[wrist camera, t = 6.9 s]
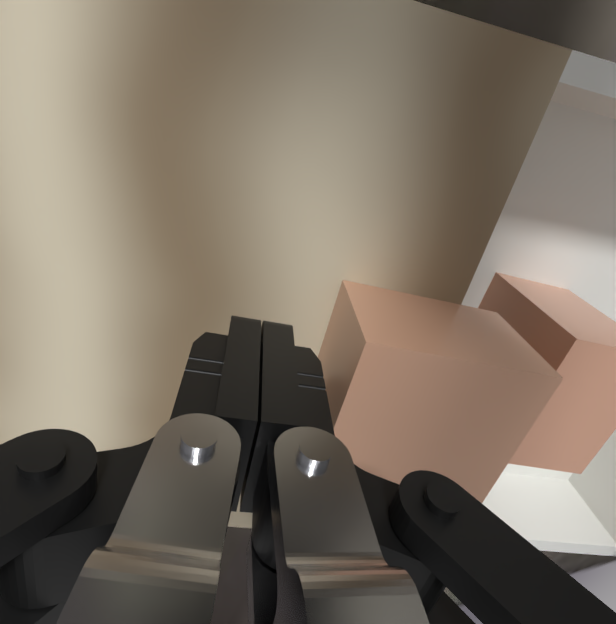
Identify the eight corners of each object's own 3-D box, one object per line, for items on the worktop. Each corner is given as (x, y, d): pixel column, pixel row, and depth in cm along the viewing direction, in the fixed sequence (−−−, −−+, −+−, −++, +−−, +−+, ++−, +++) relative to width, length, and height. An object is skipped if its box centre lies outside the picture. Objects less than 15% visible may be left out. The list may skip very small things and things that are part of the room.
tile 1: (497, 312, 12) (563, 378, 9) (434, 432, 14) (474, 515, 11) (342, 279, 11) (366, 341, 8) (300, 412, 13) (307, 497, 10)
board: (486, 60, 12) (572, 49, 9) (343, 454, 19) (359, 536, 16) (-50, -98, 10) (-225, -197, 6) (10, 418, 17) (-58, 504, 14)
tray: (797, 151, 14) (970, 172, 11) (565, 479, 21) (623, 556, 18) (486, 60, 12) (572, 49, 9) (343, 454, 19) (359, 536, 16)
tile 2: (495, 272, 15) (567, 289, 15) (445, 373, 17) (510, 385, 17) (577, 339, 11) (670, 359, 12) (497, 462, 13) (580, 474, 13)
